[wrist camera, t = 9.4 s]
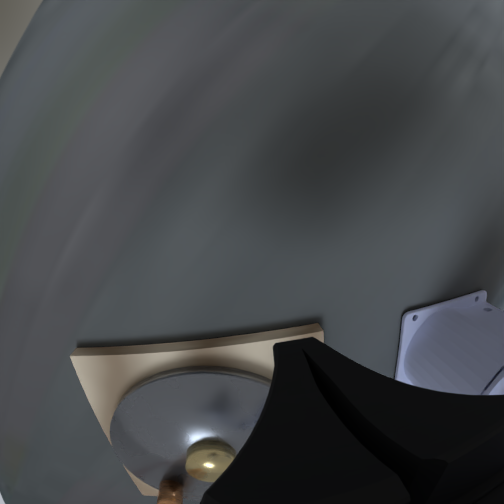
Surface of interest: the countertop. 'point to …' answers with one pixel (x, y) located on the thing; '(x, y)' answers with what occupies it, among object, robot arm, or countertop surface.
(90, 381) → the wheel base
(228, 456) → the handwheel
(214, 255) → the countertop surface
